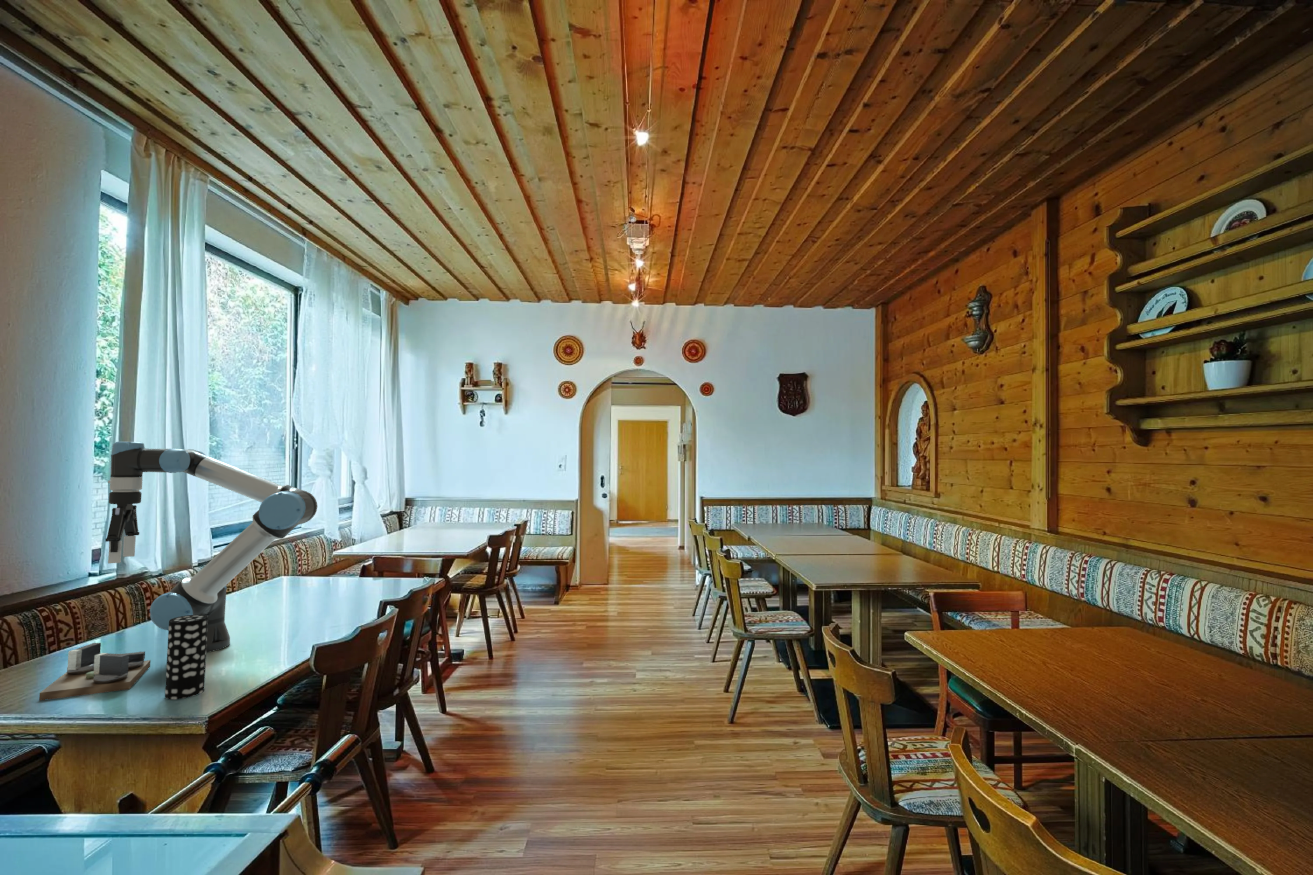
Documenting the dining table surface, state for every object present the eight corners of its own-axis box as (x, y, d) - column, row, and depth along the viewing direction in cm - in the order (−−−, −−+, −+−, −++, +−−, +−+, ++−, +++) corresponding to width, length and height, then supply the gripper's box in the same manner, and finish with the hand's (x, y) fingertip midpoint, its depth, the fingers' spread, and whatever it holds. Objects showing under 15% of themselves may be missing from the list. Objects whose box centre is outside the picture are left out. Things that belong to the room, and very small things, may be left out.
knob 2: (136, 674, 166) (137, 651, 167) (111, 683, 159) (112, 659, 160) (109, 673, 167) (111, 650, 167) (83, 682, 160) (85, 658, 160)
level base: (150, 666, 180) (150, 655, 180) (129, 689, 162) (129, 677, 162) (70, 675, 171) (71, 664, 171) (39, 700, 154) (39, 687, 154)
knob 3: (147, 660, 178) (147, 648, 178) (140, 667, 172) (140, 655, 172) (116, 664, 175) (116, 651, 175) (107, 671, 169) (108, 658, 169)
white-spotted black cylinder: (179, 687, 163) (183, 614, 164) (211, 687, 164) (215, 614, 165) (156, 699, 155) (160, 622, 156) (190, 699, 156) (194, 622, 157)
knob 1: (83, 665, 173) (84, 642, 174) (108, 665, 174) (110, 642, 174) (57, 675, 165) (59, 651, 166) (84, 674, 166) (86, 651, 166)
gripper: (123, 489, 194) (119, 554, 193) (95, 493, 172) (90, 566, 171) (152, 489, 197) (148, 553, 196) (128, 492, 175) (124, 565, 174)
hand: (121, 559), depth 183 cm, fingers open, 13 cm apart
